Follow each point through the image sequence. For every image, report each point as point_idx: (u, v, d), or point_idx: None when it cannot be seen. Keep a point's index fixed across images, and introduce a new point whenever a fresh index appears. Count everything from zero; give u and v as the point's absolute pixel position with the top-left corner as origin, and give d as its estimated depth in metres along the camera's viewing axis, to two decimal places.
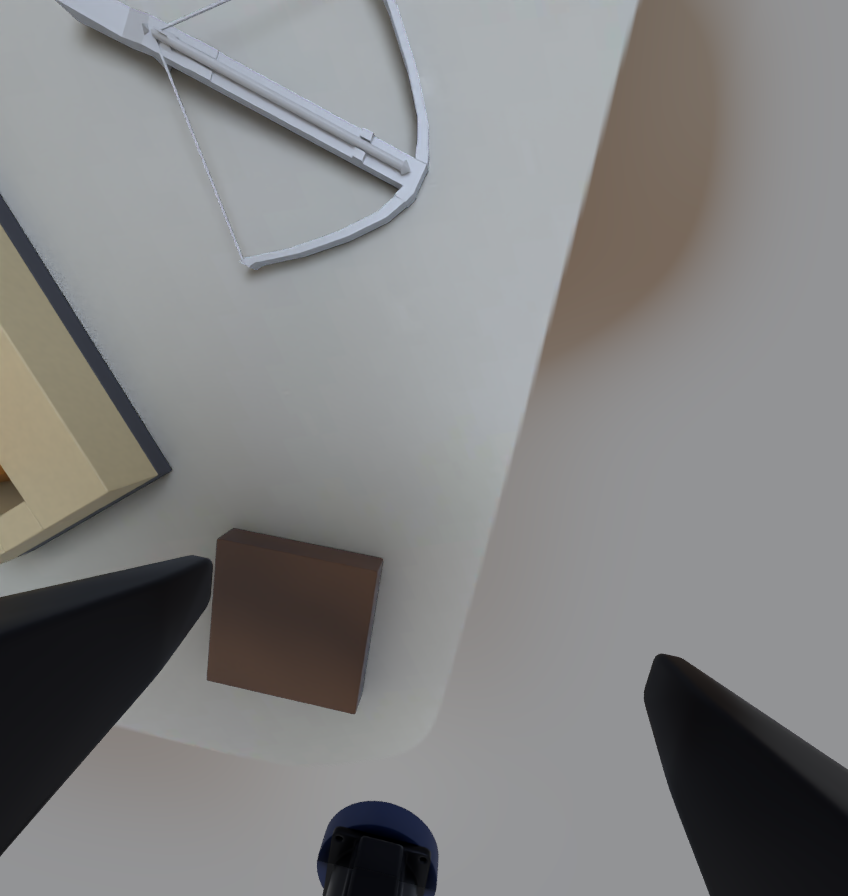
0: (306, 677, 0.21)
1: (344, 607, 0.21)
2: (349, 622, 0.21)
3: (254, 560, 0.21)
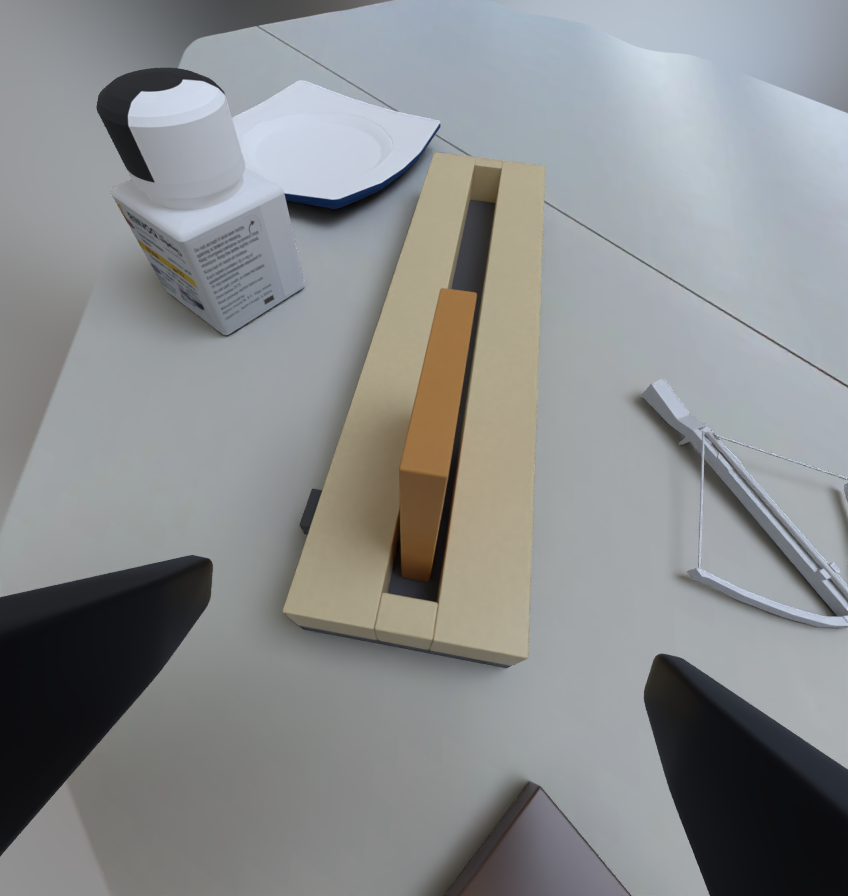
0: None
1: None
2: None
3: (569, 852, 0.16)
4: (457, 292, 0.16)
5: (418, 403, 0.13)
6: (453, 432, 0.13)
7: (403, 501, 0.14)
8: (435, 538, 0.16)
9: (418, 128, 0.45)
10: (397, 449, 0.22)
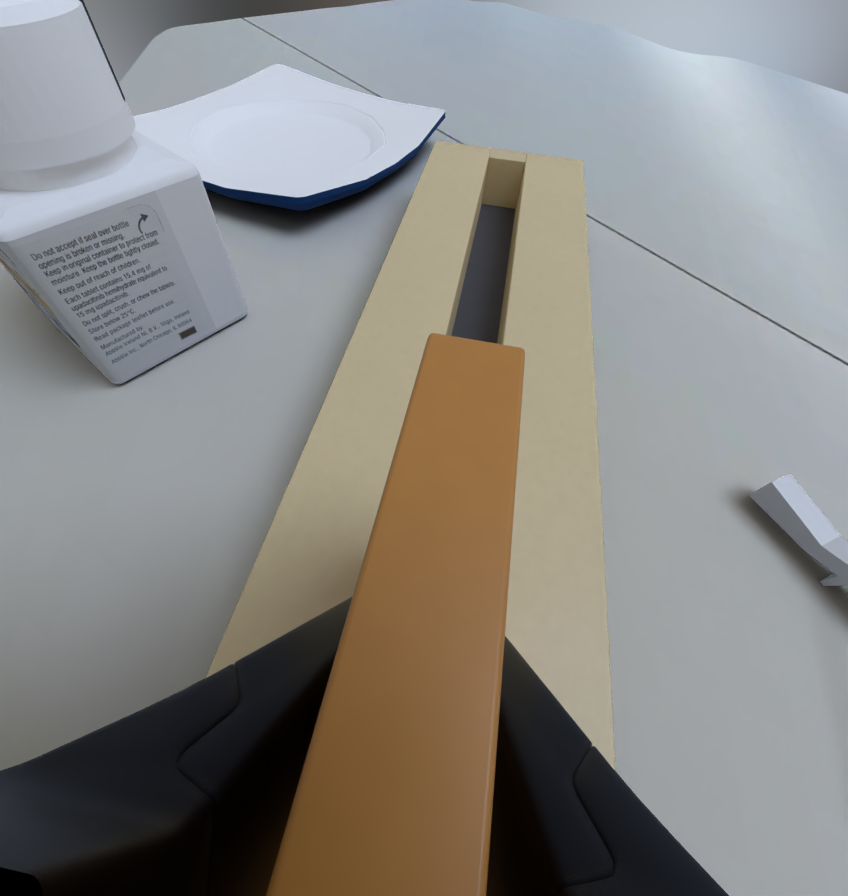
0: None
1: None
2: None
3: None
4: (474, 346, 0.06)
5: (295, 868, 0.03)
6: None
7: None
8: None
9: (417, 118, 0.36)
10: None
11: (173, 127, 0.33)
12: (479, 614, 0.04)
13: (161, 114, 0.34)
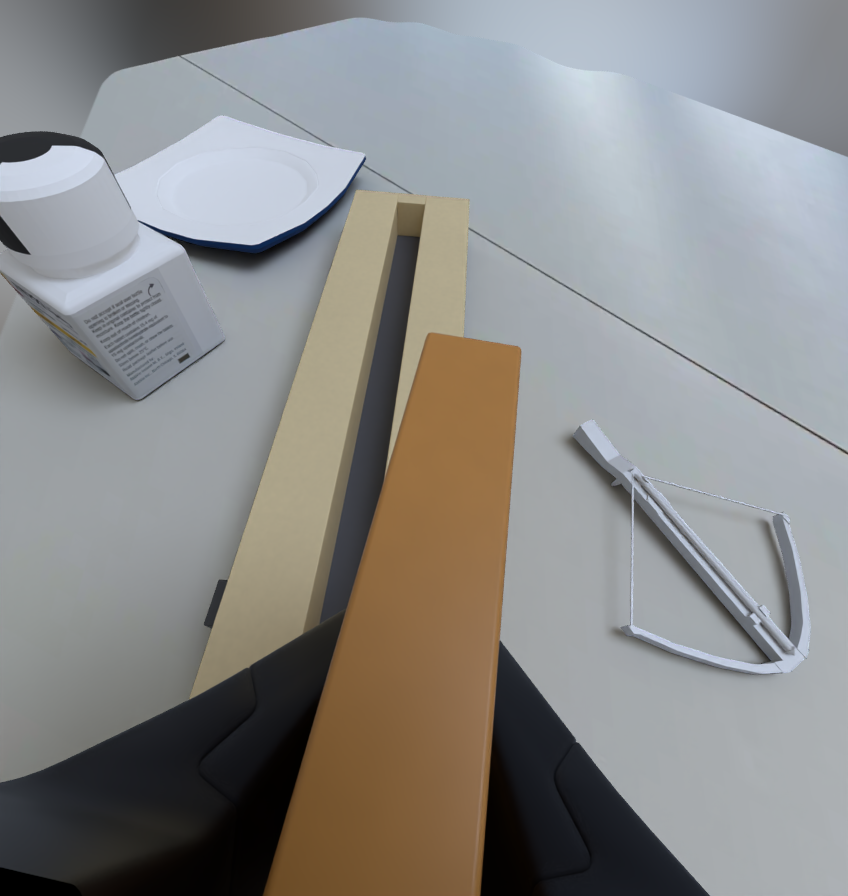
0: None
1: None
2: None
3: None
4: (471, 345, 0.06)
5: (299, 842, 0.03)
6: None
7: None
8: None
9: (343, 162, 0.44)
10: (309, 528, 0.20)
11: (141, 184, 0.41)
12: (476, 602, 0.04)
13: (129, 173, 0.41)
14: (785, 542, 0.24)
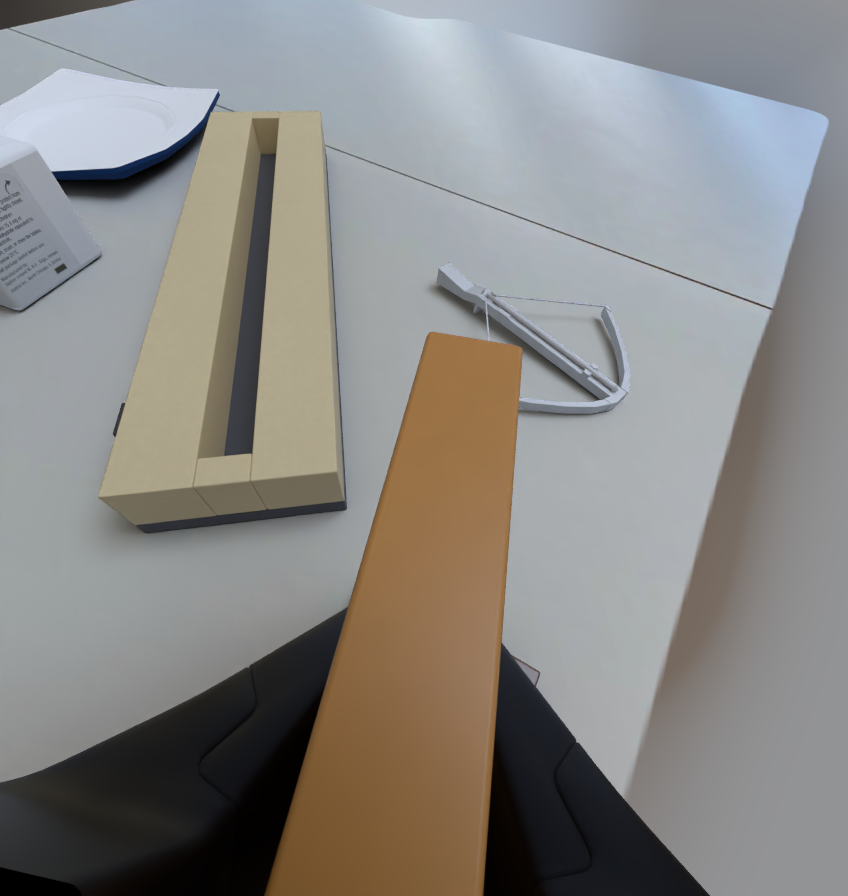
0: None
1: None
2: None
3: None
4: (472, 344, 0.06)
5: (299, 846, 0.03)
6: None
7: None
8: None
9: (197, 99, 0.45)
10: (199, 349, 0.23)
11: None
12: (478, 603, 0.04)
13: None
14: (610, 325, 0.30)
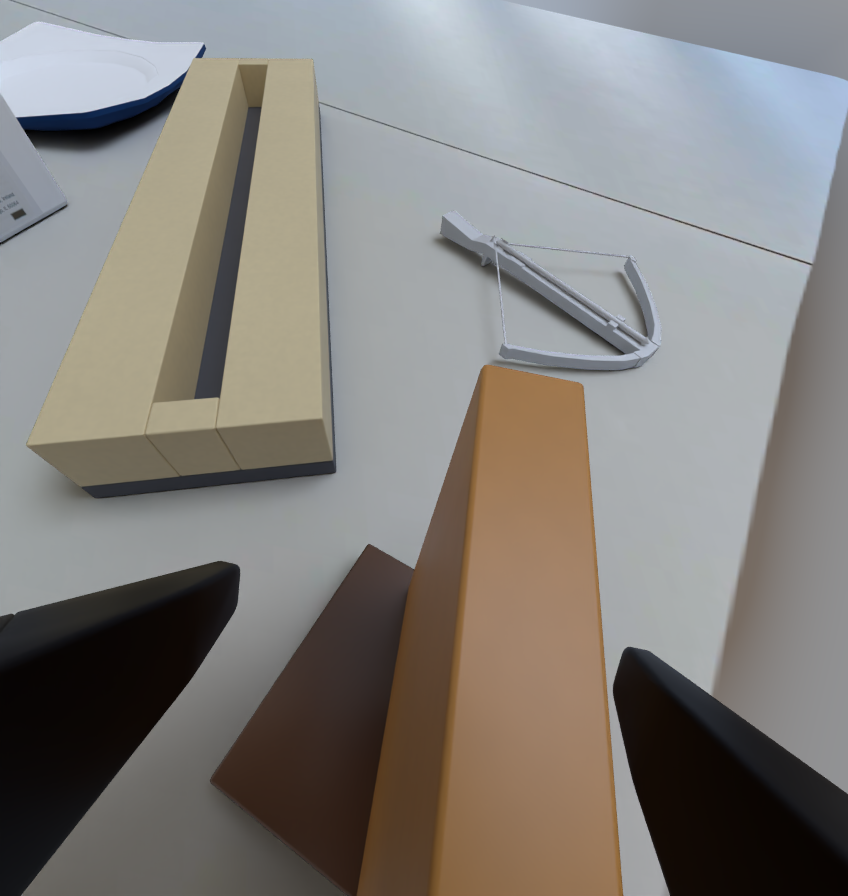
0: None
1: None
2: None
3: (404, 586, 0.15)
4: (533, 382, 0.06)
5: None
6: None
7: None
8: None
9: (182, 52, 0.42)
10: (164, 285, 0.20)
11: None
12: (583, 701, 0.04)
13: None
14: (635, 277, 0.27)
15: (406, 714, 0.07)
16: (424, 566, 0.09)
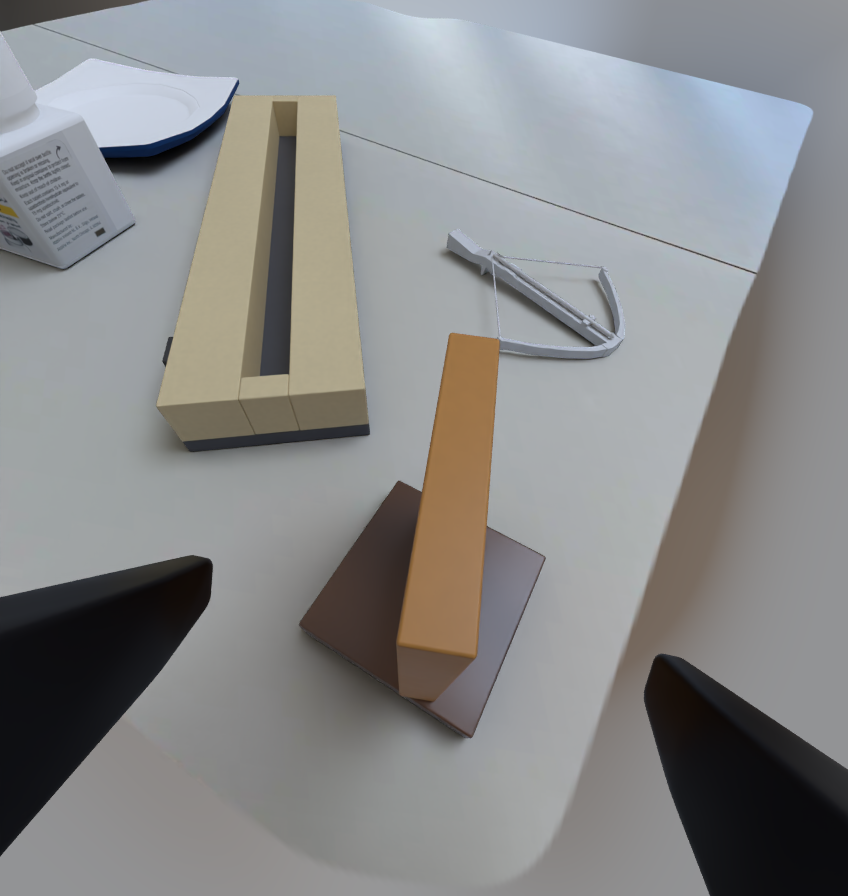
0: None
1: (501, 583, 0.19)
2: (502, 601, 0.18)
3: None
4: (473, 339, 0.12)
5: (424, 518, 0.09)
6: (480, 569, 0.08)
7: (403, 663, 0.09)
8: (448, 686, 0.11)
9: (218, 86, 0.48)
10: (237, 291, 0.25)
11: None
12: (481, 450, 0.10)
13: None
14: (606, 284, 0.33)
15: None
16: None
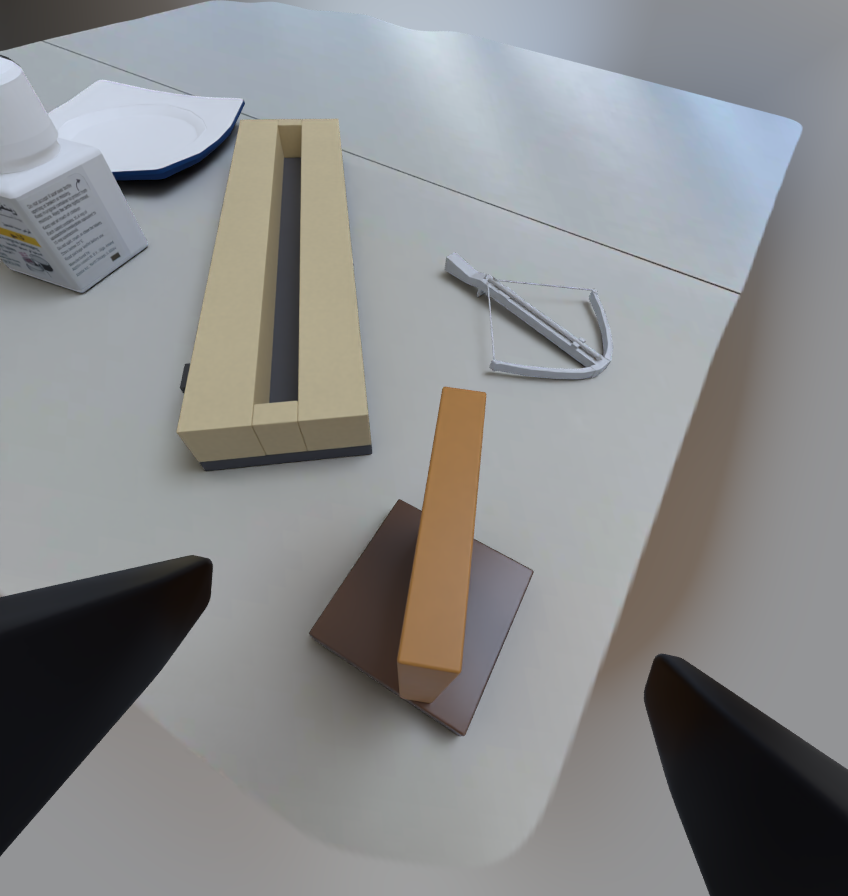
0: None
1: (493, 595, 0.21)
2: (493, 612, 0.20)
3: None
4: (463, 393, 0.13)
5: (420, 556, 0.10)
6: (465, 600, 0.10)
7: (402, 675, 0.11)
8: (441, 691, 0.13)
9: (225, 107, 0.50)
10: (248, 320, 0.27)
11: None
12: (468, 495, 0.11)
13: None
14: (596, 306, 0.35)
15: None
16: None
